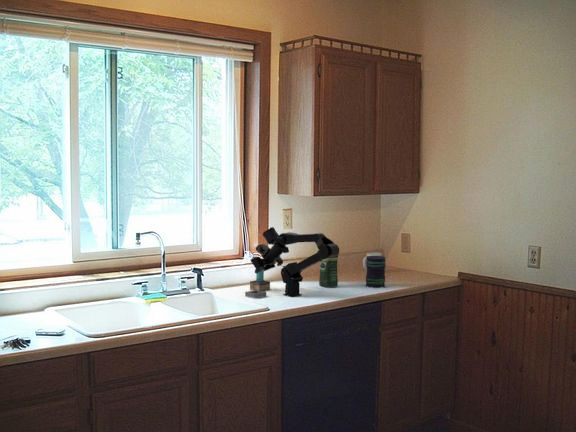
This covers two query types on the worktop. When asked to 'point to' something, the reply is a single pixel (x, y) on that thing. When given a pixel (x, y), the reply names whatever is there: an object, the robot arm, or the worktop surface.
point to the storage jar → (375, 271)
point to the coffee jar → (328, 272)
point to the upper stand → (260, 285)
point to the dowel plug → (260, 276)
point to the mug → (370, 255)
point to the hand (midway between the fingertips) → (257, 272)
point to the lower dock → (255, 294)
